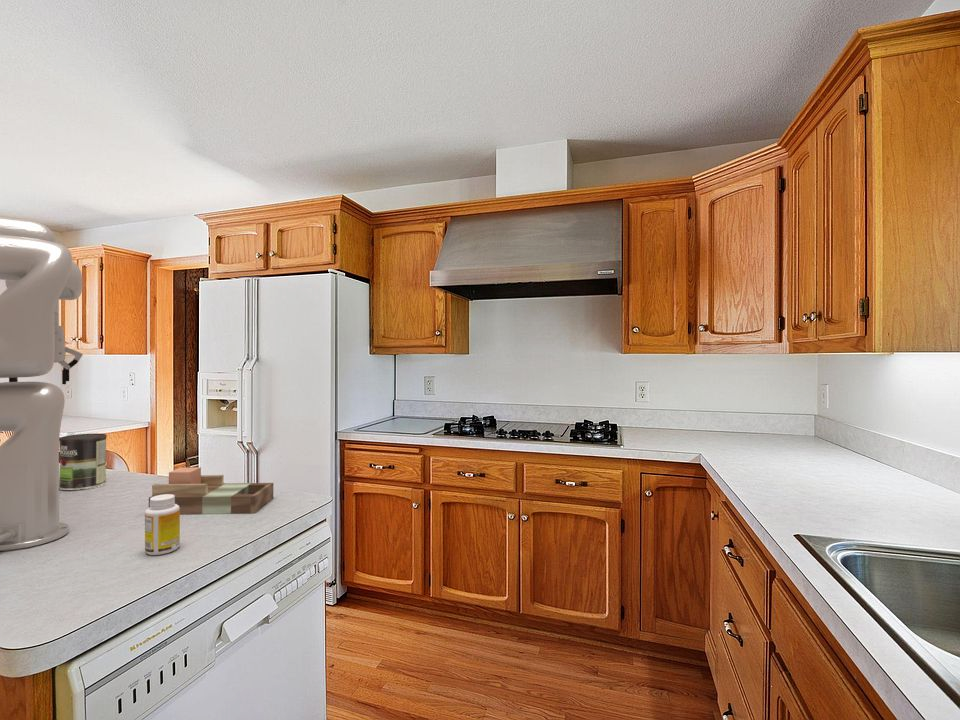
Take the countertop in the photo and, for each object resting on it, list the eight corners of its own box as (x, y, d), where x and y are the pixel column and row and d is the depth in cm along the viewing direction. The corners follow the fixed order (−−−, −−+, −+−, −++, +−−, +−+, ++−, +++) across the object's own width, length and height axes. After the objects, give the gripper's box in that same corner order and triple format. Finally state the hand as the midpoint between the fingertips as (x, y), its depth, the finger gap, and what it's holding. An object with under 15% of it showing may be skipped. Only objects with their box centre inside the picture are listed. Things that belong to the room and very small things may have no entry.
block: (190, 492, 115) (190, 472, 115) (168, 493, 115) (168, 472, 115) (200, 487, 120) (200, 467, 120) (180, 487, 120) (180, 467, 120)
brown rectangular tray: (255, 513, 113) (255, 485, 113) (148, 514, 112) (148, 486, 111) (273, 498, 125) (273, 473, 125) (177, 499, 123) (177, 474, 123)
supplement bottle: (185, 544, 95) (185, 492, 95) (170, 555, 89) (170, 501, 89) (155, 545, 94) (155, 493, 94) (138, 556, 89) (138, 501, 88)
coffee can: (76, 492, 129) (76, 440, 129) (49, 489, 132) (49, 438, 132) (115, 483, 139) (115, 434, 138) (90, 480, 142) (90, 432, 142)
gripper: (-9, 317, 119) (-9, 386, 119) (82, 320, 129) (82, 384, 130) (-4, 319, 124) (-4, 385, 125) (82, 322, 135) (82, 383, 135)
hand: (40, 384), depth 127 cm, fingers open, 9 cm apart
